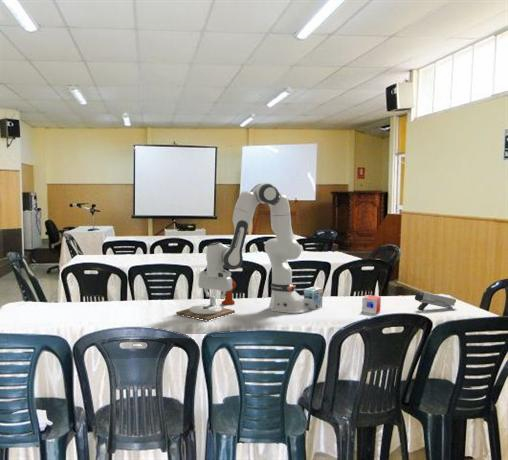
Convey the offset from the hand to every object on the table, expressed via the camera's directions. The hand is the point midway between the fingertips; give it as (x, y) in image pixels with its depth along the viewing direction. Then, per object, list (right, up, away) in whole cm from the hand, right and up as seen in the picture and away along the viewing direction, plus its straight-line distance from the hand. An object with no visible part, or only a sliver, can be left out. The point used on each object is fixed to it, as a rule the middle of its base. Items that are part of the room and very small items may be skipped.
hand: (215, 297), depth 260 cm
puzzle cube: (+86, -9, +5) cm, 87 cm away
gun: (+124, -8, +11) cm, 125 cm away
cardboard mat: (-5, -8, -6) cm, 11 cm away
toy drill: (+2, -7, +17) cm, 18 cm away
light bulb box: (+55, -8, +12) cm, 57 cm away
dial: (-5, -6, -6) cm, 10 cm away
